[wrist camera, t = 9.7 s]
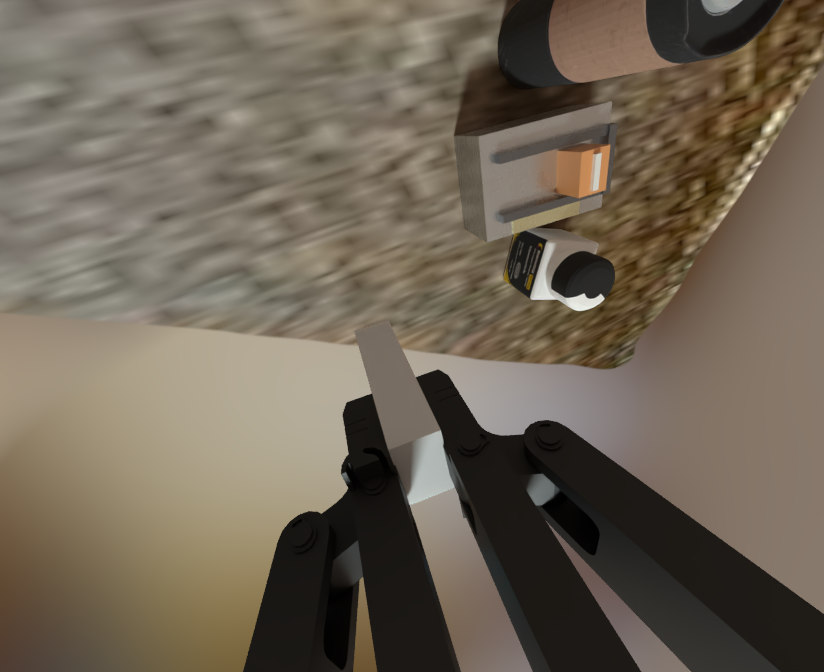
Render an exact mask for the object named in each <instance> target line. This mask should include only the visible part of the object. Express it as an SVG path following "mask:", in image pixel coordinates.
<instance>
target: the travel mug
mask: <svg viewBox="0 0 824 672" xmlns="http://www.w3.org/2000/svg"><path fill="white" fill-rule="evenodd" d="M783 1H784V0H521V1H520V2H519V3H517V4H516V5H515V6H514V7H513V8H512V10H511V11H510V12H509V14H508V15H507V17H506V19H505V21H504V23H503V26H502V28H501V32H500V36H499V42H498V58H499V63H500V67H501V70H502V72H503V74H504V76H505V77H506V79H507V80H508V81H509V82H510V83H511V84H512V85H514V86H516V87H518V88H521V89H533V88H542V87H551V86H559V85H567V84H576V83H583V82H590V81H595V80H600V79H606V78H611V77H616V76H621V75H627V74H632V73H637V72H642V71H648V70H653V69H658V68H663V67H669V66H674V65H679V64H684V63H690V62H695V61H700V60H706V59H711V58H717V57H721V56H724V55H727V54H730V53H732V52H734V51H736V50H738V49H740V48H741V47H743V46H745V45H746V44H747V43H749V42H750V41H751V40H752V39H754V38H755V37H756V36H757V35H758V34H759V33H760V32H761V31H762V30H763V29H764V27H765V26H766V25H767V24H768V23H769V22H770V20H771V19H772V18H773V16H774V15H775V14H776V12H777V11H778V9H779V8H780V6H781V5H782V3H783Z"/></svg>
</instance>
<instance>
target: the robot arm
mask: <svg viewBox="0 0 824 672" xmlns="http://www.w3.org/2000/svg"><path fill="white" fill-rule="evenodd" d="M355 335H356V338H357V342H358V345H359V349H360V352H361V356H362V359H363V363H364V366H365V370H366V374H367V377H368V380H369V384H370V388H371V391H372V394H370V395H367V396H364V397H361V398H358V399H355V400H352V401H350V402H347V403H346V406H345V409H344V412H343V420H344V426H345V433H346V439H347V445H348V452H349V455H348V456H347V457H346V458H345V460H344V462H343V464H342V469H341V475H342V477H343V479H344V480H345V482H346V484H347V486H348V490H347V492H346V493H345V494H344V496H343V497H342V498H341V499H340V500H339V501H338V502H337V503H336V504H334V505H333V506H332V507H330V508H329V509H328V510H326V511H325V512H323V513H322V514H320V513H319V512H312V511H311V512H310V511H308V512H306V513H303V514H300V515H298V516H297V517H295V518H294V519H293V520H291V521H290V522H289V523H288V525H287V526H286V527H285V528H284V530H283V531H282V533H281V536H280V538H279V540H278V543H277V547H276V550H275V554H274V558H273V562H272V565H271V569H270V573H269V577H268V580H267V584H266V588H265V592H264V595H263V599H262V603H261V607H260V610H259V614H258V618H257V622H256V625H255V630H254V633H253V637H252V640H251V644H250V648H249V652H248V656H247V659H246V663H245V667H244V671H243V672H353V664H354V650H355V636H356V621H357V608H358V593H359V580H360V579H361V578H362V577H363V578H364V585H365V592H366V598H367V605H368V612H369V619H370V625H371V632H372V639H373V645H374V652H375V659H376V665H377V672H461V671H460V667H459V664H458V661H457V658H456V654H455V651H454V648H453V645H452V641H451V638H450V634H449V631H448V628H447V624H446V621H445V618H444V615H443V611H442V608H441V605H440V601H439V598H438V595H437V592H436V588H435V585H434V582H433V579H432V575H431V572H430V569H429V565H428V562H427V559H426V555H425V552H424V549H423V546H422V542H421V539H420V536H419V533H418V529H417V526H416V523H415V520H414V517H413V515H412V512H411V508H410V505H412V504H415V503H417V502H419V501H422V500H424V499H427V498H429V497H432V496H434V495H437V494H439V493H442V492H444V491H447V490H449V489H452V488H454V486H455V488H456V491H457V493H458V495H459V500H460V504H461V509H462V513H463V517H464V518H467V520H468V523H469V525H470V527H471V530H472V532H473V534H474V537H475V539H476V541H477V544H478V546H479V548H480V551H481V553H482V555H483V558H484V560H485V562H486V564H487V567H488V569H489V571H490V573H491V576H492V578H493V581H494V583H495V585H496V587H497V590H498V592H499V595H500V597H501V599H502V601H503V604H504V606H505V608H506V611H507V613H508V615H509V618H510V620H511V622H512V625H513V627H514V629H515V631H516V634H517V636H518V638H519V641H520V643H521V645H522V648H523V650H524V652H525V654H526V657H527V659H528V661H529V664H530V666H531V668H532V671H533V672H641V671H640V669H639V668H638V666H637V664H636V663H635V661H634V660H633V658H632V656H631V655H630V653H629V652H628V650H627V649H626V647H625V645H624V644H623V642H622V641H621V639H620V637H619V636H618V634H617V633H616V631H615V630H614V628H613V626H612V625H611V623H610V622H609V620H608V619H607V617H606V615H605V614H604V612H603V611H602V609H601V607H600V606H599V604H598V603H597V601H596V600H595V598H594V596H593V595H592V593H591V592H590V590H589V589H588V587H587V585H586V584H585V582H584V581H583V579H582V577H581V576H580V574H579V573H578V571H577V570H576V568H575V567H574V565H573V563H572V562H571V560H570V559H569V557H568V556H567V554H566V552H565V551H564V549H563V547H562V546H561V544H560V543H559V541H558V540H557V538H556V537H555V535H554V533H553V532H552V530H551V529H550V527H549V525H548V524H547V522H548V523H549V524H550V525H551V526H552V527H553V528H554V530H555V531H556V532H557V533H558V534H559V535H560V536H561V537H562V538H563V539H564V540H565V541H566V542H567V543H568V544H569V545H570V546H571V547H572V548H573V549H574V550H575V551H576V552H577V553H578V554H579V555H580V557H581V558H582V559H583V560H584V561H585V562H586V563H587V564H588V565H589V566H590V567H591V568H592V569H593V570H594V571H595V572H596V573H597V574H598V575H599V576H600V577H601V578H602V579H603V580H604V582H605V583H606V584H607V585H608V586H609V587H610V588H611V589H612V590H613V591H614V592H615V593H616V594H617V595H618V596H619V597H620V598H621V599H622V600H623V601H624V602H625V603H626V604H627V605H628V606H629V608H631V610H632V611H633V612H634V613H635V614H636V615H637V616H638V617H639V618H640V619H641V620H642V621H643V622H644V623H645V624H646V625H647V626H648V627H649V628H650V629H651V630H652V631H653V632H654V633H655V634H656V635H657V637H658V638H660V640H661V641H662V642H663V643H664V644H665V645H666V646H667V647H668V648H669V649H670V650H671V651H672V652H673V653H674V654H675V655H676V656H677V657H678V658H679V659H680V660H681V661H682V662H683V664H685V665H686V667H687V668H688V669H689V670H690V671H691V672H824V614H822V613H821V612H820V611H819V610H817V609H816V608H815V607H813V606H812V605H810V604H809V603H808V602H806V601H805V600H803V599H802V598H801V597H799V596H798V595H797V594H795V593H794V592H792V591H791V590H790V589H788V588H787V587H786V586H784V585H783V584H782V583H780V582H779V581H777V580H776V579H775V578H773V577H772V576H771V575H769V574H768V573H766V572H765V571H764V570H762V569H761V568H760V567H758V566H757V565H756V564H754V563H753V562H751V561H750V560H749V559H747V558H746V557H745V556H743V555H742V554H740V553H739V552H738V551H736V550H735V549H733V548H732V547H731V546H729V545H728V544H727V543H725V542H724V541H723V540H721V539H719V538H718V537H717V536H716V535H714V534H713V533H711V532H710V531H709V530H707V529H706V528H705V527H703V526H702V525H700V524H699V523H698V522H696V521H695V520H694V519H692V518H691V517H690V516H688V515H687V514H685V513H684V512H683V511H681V510H680V509H679V508H677V507H676V506H674V505H673V504H672V503H670V502H669V501H668V500H666V499H665V498H663V497H662V496H661V495H659V494H658V493H657V492H655V491H654V490H652V489H651V488H649V487H648V486H647V485H646V484H644V483H643V482H641V481H640V480H639V479H637V478H636V477H635V476H633V475H632V474H630V473H629V472H628V471H626V470H625V469H624V468H622V467H621V466H619V465H618V464H617V463H615V462H614V461H613V460H611V459H610V458H608V457H607V456H606V455H604V454H603V453H601V452H600V451H599V450H597V449H596V448H595V447H593V446H592V445H591V444H589V443H588V442H587V441H585V440H584V439H582V438H581V437H579V436H578V435H577V434H576V433H574V432H573V431H571V430H570V429H569V428H567V427H566V426H563V425H562V424H560V423H558V422H554V421H549V420H544V421H537V422H535V423H533V424H530V425H529V427H528V428H527V429H526V430H525V433H524V434H523V435H509V436H500V435H495V434H492V433H489V432H487V431H485V430H484V429H483V428H482V427H481V426H480V425H479V424H478V423H477V421H476V419H475V418H474V416H473V414H472V413H471V411H470V410H469V408H468V406H467V405H466V403H465V402H464V400H463V398H462V397H461V395H460V394H459V392H458V390H457V389H456V387H455V386H454V384H453V382H452V381H451V379H450V377H449V376H448V375H447V374H445V373H443V372H442V371H440V370H436V371H432V372H429V373H427V374H424V375H421V376H418V377H415V375H414V373H413V371H412V369H411V367H410V365H409V363H408V361H407V359H406V357H405V354H404V352H403V350H402V348H401V346H400V344H399V342H398V340H397V338H396V336H395V333H394V331H393V329H392V327H391V325H390V323H389V321H388V320H386V321H383V322H380V323H377V324H374V325H371V326H368V327H365V328H362V329H359V330H356V331H355ZM453 484H454V485H453ZM545 520H546V521H547V522H546V521H545Z"/></svg>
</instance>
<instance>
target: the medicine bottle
mask: <svg viewBox="0 0 824 672" xmlns="http://www.w3.org/2000/svg"><path fill="white" fill-rule="evenodd" d="M598 245H599V244H598V243H597V242H594V241H592V240H589V239H586V238H584V237H581V236H578V235H575V234H573V233H570V232H567V231H565V230H562V229H549V228H532V229H529V230H525V231H522V232H519V233H516V234H514V237H513V241H512V245H511V249H510V253H509V257H508V261H507V265H506V269H505V273H504V277H503V279H504V280H505V281H506V282H508V283H509V284H510V285H512V286H513V287H515V288H516V289H517V290H519V291H520V292H522V293H523V294H524V295H526V296H527V297H529V298H530V299H532V300H548V299H558V300H559V301H561V302H562V303H564V304H566V305H567V306H569V307H570V308H572V309H574V310H577V311H583V310H587V309H590V308H593V307H595V306H596V305H598V304H599V303H601V302H602V301H603V300H604V299H605V298H606V296H607V295H608V294H609V292H610V291H611V289H612V287H613V284H614V280H615V271H614V267H613V265H612V263H611V262H610V261H609V260H607V259H605V258H602V257H600V256H598V255H595V253H596V251H597V248H598Z"/></svg>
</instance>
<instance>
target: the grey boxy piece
mask: <svg viewBox="0 0 824 672" xmlns="http://www.w3.org/2000/svg"><path fill="white" fill-rule="evenodd" d="M611 107H612V101H610V102H600V103H589V104H579V105H570V106H566V107H563V108H559V109H555V110H551V111H547V112H544V113H540V114H536V115H532V116H528V117H524V118H521V119H517V120H513V121H509V122H505V123H501V124H498V125H494V126H490V127H486V128H482V129H478V130H475V131H471V132H467V133H463V134H459V135H455V136H454V141H455V150H456V159H457V167H458V176H459V185H460V193H461V202H462V210H463V219H464V228H465V230H467V231H469V232H470V233H472V234H474V235H476V236H477V237H479V238H481V239H483V240H484V241H486V242H490V241H493V240H496V239H499V238H503V237H506V236H509V235H512V234H516V233H519V232H522V231H525V230H529V229H532V228H535V227H538V226H542V225H545V224H548V223H551V222H555V221H558V220H561V219H564V218H568V217H571V216H574V215H577V214H581V213H584V212H587V211H590V210H594V209H597V208H600V207H601V204H602V194H606V193H610V184H611V176H612V167H613V158H614V149H615V141H616V132H617V123H610V117H611ZM584 143H588V144H611V145H610V154H609V163H608V173H607V182H606V190H604V191H601V192H598V193H594V194H591V195H588V196H584V197H581V198H576V197H571V196H567V195H563V194H559V193H556V182H557V151H558V150H562V149H566V148H569V147H573V146H576V145H580V144H584Z"/></svg>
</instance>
